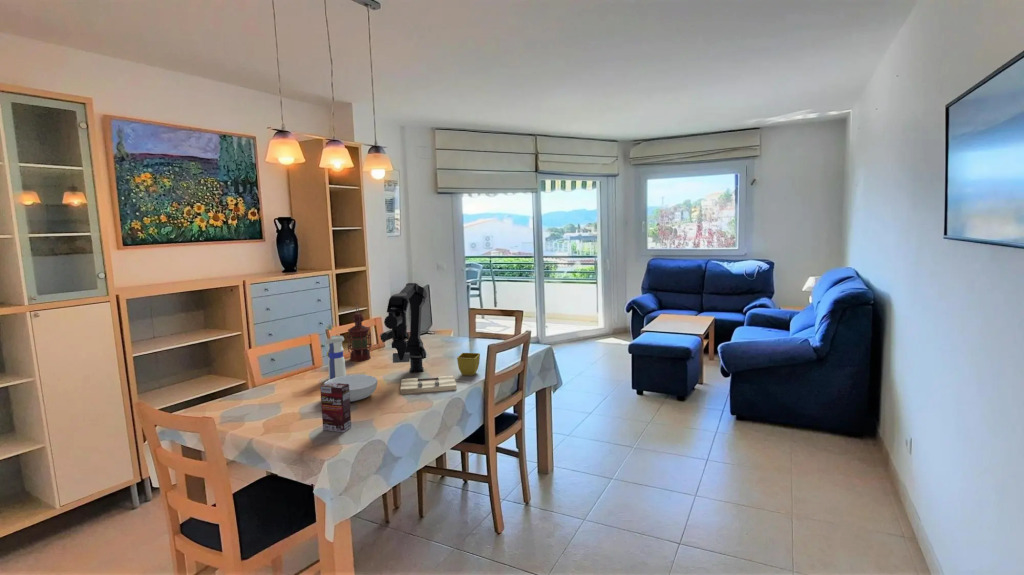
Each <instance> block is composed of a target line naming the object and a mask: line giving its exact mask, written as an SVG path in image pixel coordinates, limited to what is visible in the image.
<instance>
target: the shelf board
mask: <svg viewBox="0 0 1024 575" xmlns="http://www.w3.org/2000/svg"><path fill="white" fill-rule="evenodd" d="M456 390H457V381H456V378H455V375H444V376H443V375H442V376H437V377H427V378H426V377H425V378H424V377H423V378H418V377H414V378H402V379H401V382H400V395H405V394H407V395H408V394H420V393H430V392H445V391H446V392H447V391H456Z"/></svg>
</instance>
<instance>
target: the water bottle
mask: <svg viewBox="0 0 1024 575" xmlns="http://www.w3.org/2000/svg"><path fill="white" fill-rule="evenodd" d="M333 327H334V325H331V323H329V324H328V326H326V328H327V331H328V332H329V331H332V330H333ZM344 341H345V338H344V335H331V336H330V338H327V337H326V338H325V344H326V345H328V348H327V352H326V356H327V358H328V359H327V360H328V361H327V362H328V363H327V364H328V365H327V366H328V380H330V379H333V378H336V377H340V376H346V375H347V371H346V362H345V361H346V360H345V357H344V350H345V349H344V347H343V342H344Z"/></svg>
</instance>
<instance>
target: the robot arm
mask: <svg viewBox="0 0 1024 575" xmlns="http://www.w3.org/2000/svg"><path fill="white" fill-rule="evenodd" d="M427 295H428V293H427V290H426V289H425V288H424V287H423V286H420V284H418V283H416V282H408V283H406V284H405V286H404V287H403V289H402V290H401V291H400V292H399V293H395V294H392V295H391V296H390V297H389V298H388V303H387V308H386V313H388V314H387V316H385V318H384V322H383V323H384V326H385V327H386V328H387V329H388V330H387V331H384V332H382V333H380V335H379V337H380V340H381V342H382V343H385V342H387V341H390V340H391V339H392V340H393V341H392V342H391V349H396V351H397V352H396V353H398V355H399V359H400V360H403V357H404V354H405V353H407V352H409V355H410V361H409V363H410V367H409V373H420V372H421V373H423V372H424V370H425V369H424V366H423V360H424V359H427V351H426V349H425V347H424V342H423V341H422V338H421V329H422V328H421V324H422V308H423V307H424V305H425V303H426V299H427ZM409 305H410V306H411V313H410V330H409V333H408V331H407V330H408V329H407V328H408V325H407V311H408V307H409Z"/></svg>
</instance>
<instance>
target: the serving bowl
mask: <svg viewBox="0 0 1024 575" xmlns="http://www.w3.org/2000/svg"><path fill="white" fill-rule="evenodd" d="M327 382H330V383H341V384H349V394H350V403H351V402H356V401H360V400H364V399H365V398H368V397H369V396H371V395H373V393H374V392H375V391H376V390H377V387H378V378H377V377H375V376H372V375H368V374H346V376H340V377H336V378H333V379H330V380H329V379H328V380H326V381H325V382H324V383H323V384H325V383H327Z"/></svg>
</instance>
